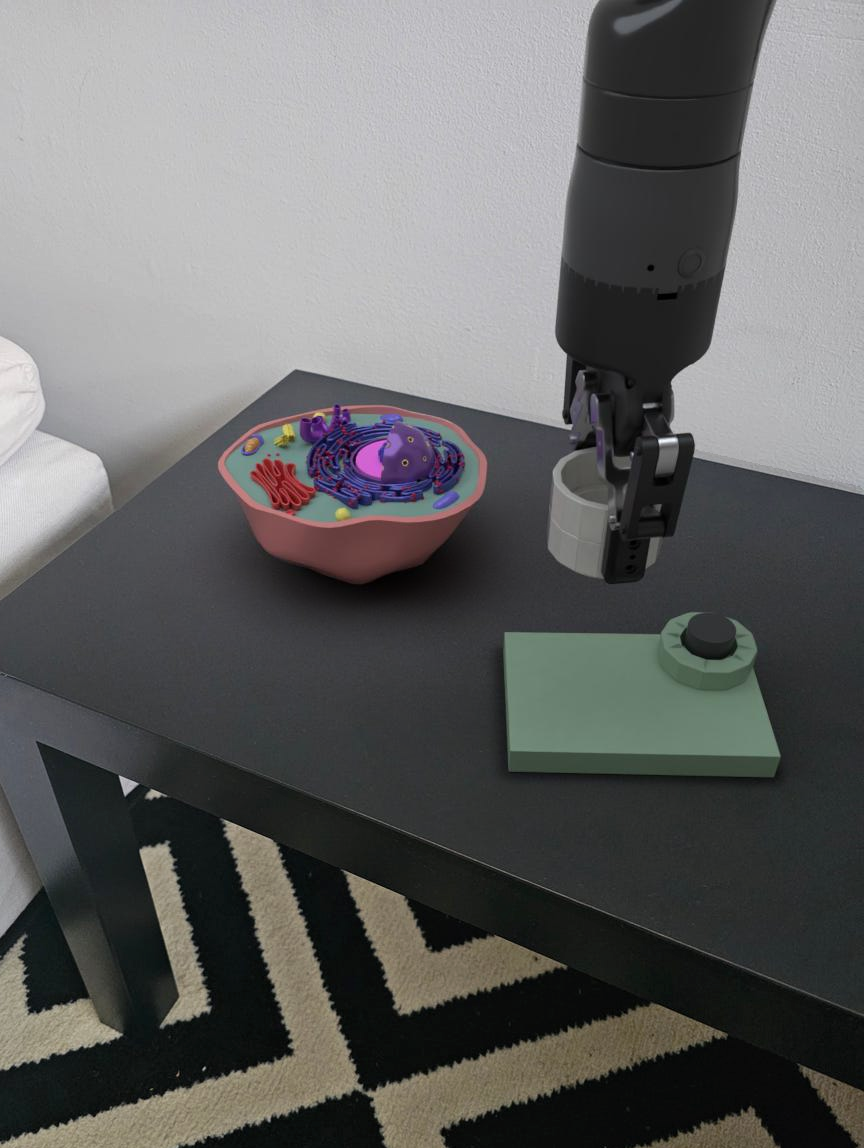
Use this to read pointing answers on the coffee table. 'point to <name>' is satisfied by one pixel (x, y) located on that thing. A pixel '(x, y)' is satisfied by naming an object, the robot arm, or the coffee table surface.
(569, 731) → the scale
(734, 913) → the coffee table surface
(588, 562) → the white cup
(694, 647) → the button
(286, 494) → the cell model
